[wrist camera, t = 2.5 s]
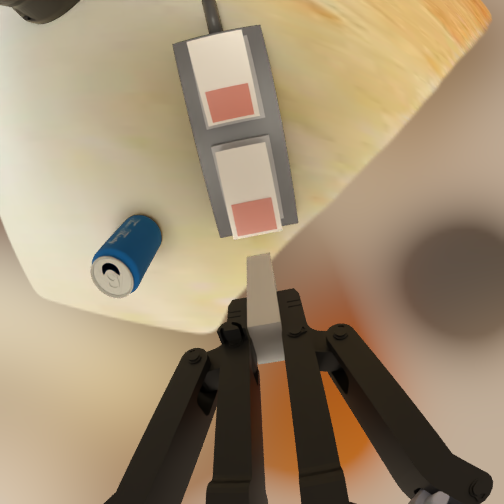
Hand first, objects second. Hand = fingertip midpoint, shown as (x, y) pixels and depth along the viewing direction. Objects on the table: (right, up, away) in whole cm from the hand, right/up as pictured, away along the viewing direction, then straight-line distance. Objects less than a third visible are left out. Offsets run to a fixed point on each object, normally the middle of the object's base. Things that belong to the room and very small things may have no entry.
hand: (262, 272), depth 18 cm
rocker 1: (-3, +19, +5) cm, 20 cm away
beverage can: (-17, +4, +21) cm, 27 cm away
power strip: (-3, +19, +13) cm, 23 cm away
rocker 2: (-1, +8, +11) cm, 13 cm away
